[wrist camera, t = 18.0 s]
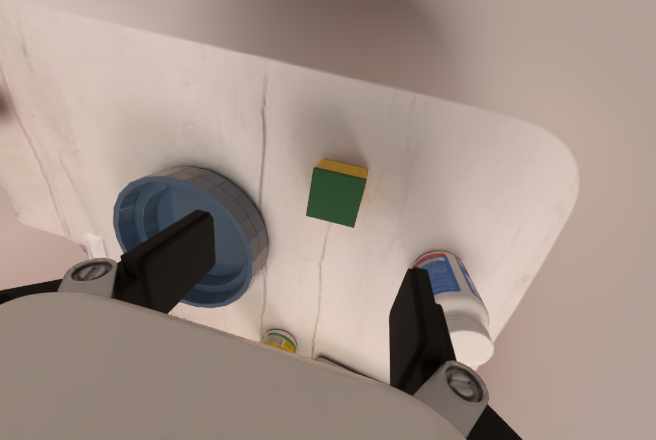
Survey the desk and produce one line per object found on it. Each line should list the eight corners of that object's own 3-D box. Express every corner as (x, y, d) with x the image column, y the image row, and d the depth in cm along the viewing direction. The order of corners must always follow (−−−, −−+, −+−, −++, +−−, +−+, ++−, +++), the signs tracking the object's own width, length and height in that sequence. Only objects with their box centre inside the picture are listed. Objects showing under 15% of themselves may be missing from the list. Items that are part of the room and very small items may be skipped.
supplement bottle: (281, 323, 36) (250, 393, 27) (305, 348, 37) (282, 422, 28) (256, 335, 38) (219, 403, 29) (279, 357, 39) (250, 429, 30)
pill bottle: (403, 281, 29) (413, 360, 20) (422, 243, 26) (442, 313, 18) (450, 296, 28) (481, 382, 20) (474, 259, 26) (520, 338, 17)
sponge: (323, 158, 25) (313, 168, 21) (368, 168, 24) (366, 180, 21) (315, 200, 27) (305, 215, 23) (357, 210, 26) (353, 228, 23)
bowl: (137, 151, 28) (97, 159, 24) (275, 184, 27) (256, 198, 23) (156, 265, 35) (128, 286, 31) (265, 296, 34) (249, 323, 30)
